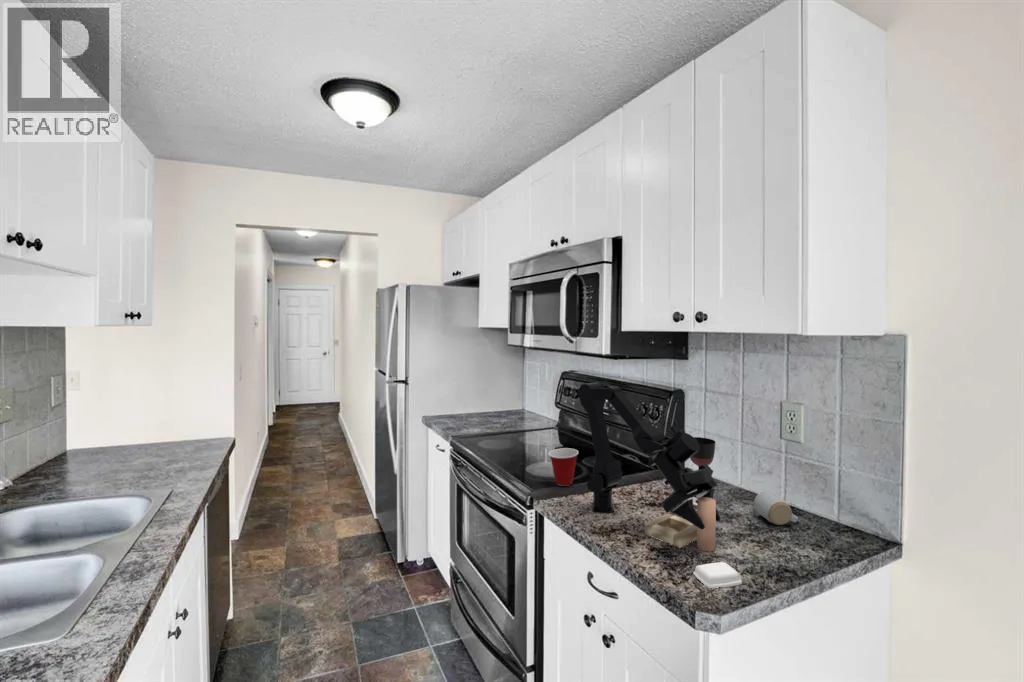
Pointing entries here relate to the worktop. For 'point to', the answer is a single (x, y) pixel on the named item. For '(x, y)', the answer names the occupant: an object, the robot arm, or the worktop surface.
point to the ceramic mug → (773, 508)
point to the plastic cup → (563, 464)
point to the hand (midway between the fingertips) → (711, 524)
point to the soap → (717, 575)
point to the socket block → (672, 530)
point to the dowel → (706, 523)
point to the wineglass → (703, 454)
